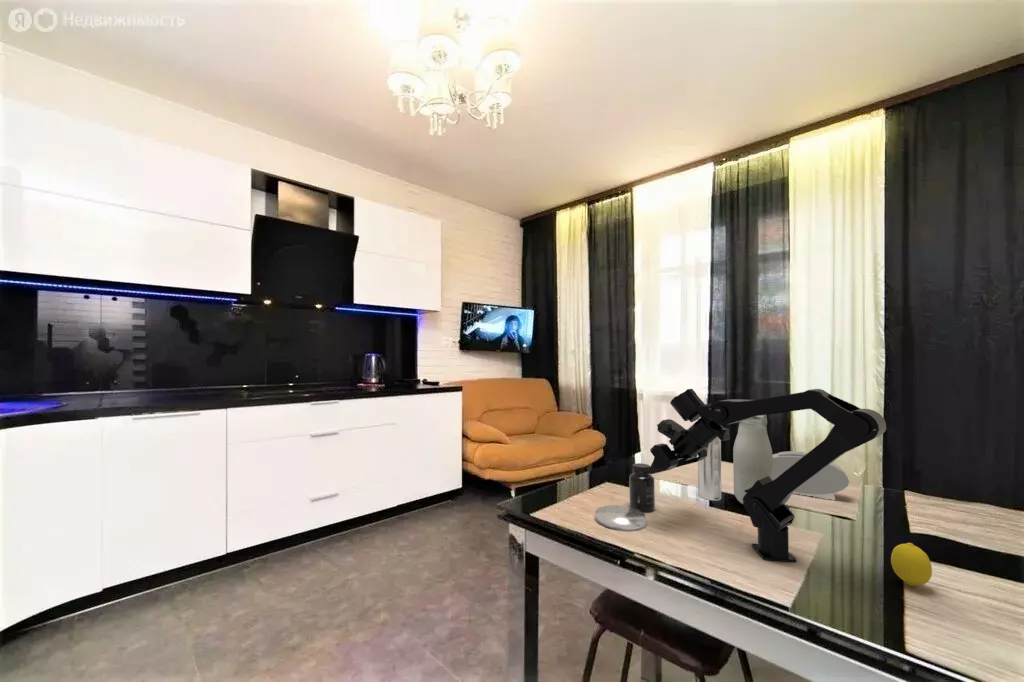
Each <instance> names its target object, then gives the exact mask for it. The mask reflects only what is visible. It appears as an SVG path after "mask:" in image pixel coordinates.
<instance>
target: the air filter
mask: <svg viewBox="0 0 1024 682" xmlns="http://www.w3.org/2000/svg"><path fill="white" fill-rule="evenodd" d="M700 418H701V417H700ZM700 418H699V419H700ZM699 419H697V420H699ZM697 420H696V421H697ZM721 442H722V441H721V440H720V439H719V438H718V437H717V438H715V439H714V440H713V441H712V442H711V443H710V444H708V448H706V450H707V457H705V458H704V459H703V460H700V461H698V462H697V496H698V497H699V498H700V497H701V499H704V500H707V501H720V500H721V499H722V443H721ZM697 457H699V456H698V455H697Z"/></svg>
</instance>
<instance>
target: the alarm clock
mask: <svg viewBox="0 0 1024 682" xmlns="http://www.w3.org/2000/svg"><path fill="white" fill-rule="evenodd" d="M807 453H808V452H804V451H803V452H802V451H793V450H792V451H789V450H788V451H781V452H780V451H779V452H778V453H774V454H773V453H772V456H773V465H772V481H773V480H775V479H776V478H777V477H779V476H780V475H781V474H782V473H784V472H785V471H786V470H787V469H789V468H790V467H791V466H792V465H794V464H795V463H796V462H797V461H799V460H800V459H801V458H802V457H804V456H805V455H806V454H807ZM849 483H850V481H849V477H848V475H847V474H846V472H845V471H844V470H843V469H842V467H841V466H840V465H836V463H834V462H832V463H831V464H830V465H828V466H827V467H826V468H824V469H823V470H822V471H820V472H819V473H818V474H816V475H815V476H814V477H812V478H811V479H810V480H808V481H807V482H806V483H804V484H803V485H802V486H800V487H799V488H798V489H796V490H795V491H794V492H793V493H792V495H796V494H800V495H799V496H802V495H807V496H806V497H808V496H815V497H821V498H828V499H834V500H835V501H836V497H835V494H834V493H838V492H841V491H844V490H845V489H846V488H847V487H848V486H849ZM815 497H814V498H815ZM821 498H820V499H821Z"/></svg>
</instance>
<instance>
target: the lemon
mask: <svg viewBox="0 0 1024 682" xmlns="http://www.w3.org/2000/svg"><path fill="white" fill-rule="evenodd" d="M890 564H891V567H892V570H893V572H894V573H895V574H896V575H897V576H898V577H899V579H901V580H902V581H904V582H905V583H907V585H909V587H916V586H922V585H926V584H927V583H928V582H929V581H930V580H931V578H932V576H933V575H932V574H933V568H932V567H933V566H932V563H931V561H930V558H929V556H928V554H927V553H926V552H925V551H923V549H921V548H920V547H919V546H916V545H914V543H912V542H907V543H900V544H898V545H895V546H894V548H893V549H892V551H891V556H890Z"/></svg>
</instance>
